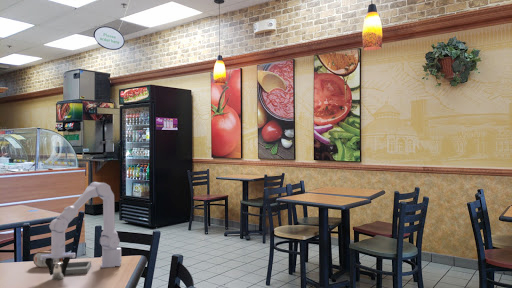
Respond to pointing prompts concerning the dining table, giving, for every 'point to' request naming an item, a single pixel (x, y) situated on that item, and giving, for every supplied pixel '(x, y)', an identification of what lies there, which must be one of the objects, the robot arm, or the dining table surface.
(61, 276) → the handled mug
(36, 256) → the tin
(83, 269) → the parts tray
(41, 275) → the dining table surface
